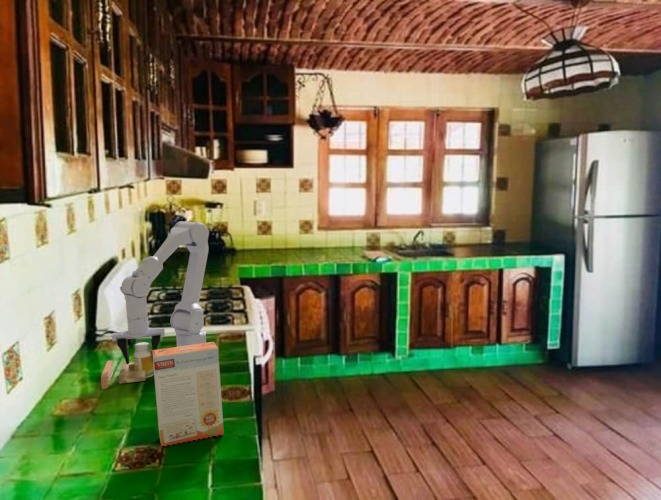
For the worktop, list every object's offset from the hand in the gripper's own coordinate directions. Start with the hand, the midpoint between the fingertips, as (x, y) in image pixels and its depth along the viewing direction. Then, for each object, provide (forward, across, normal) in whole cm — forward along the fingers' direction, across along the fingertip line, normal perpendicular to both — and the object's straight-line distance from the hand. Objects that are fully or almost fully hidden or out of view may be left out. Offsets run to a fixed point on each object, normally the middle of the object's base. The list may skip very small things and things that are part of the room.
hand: (140, 361), depth 169 cm
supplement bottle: (+5, +1, 0) cm, 5 cm away
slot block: (+4, -2, 0) cm, 5 cm away
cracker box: (+5, +14, -44) cm, 46 cm away
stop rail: (+4, -10, 0) cm, 10 cm away
